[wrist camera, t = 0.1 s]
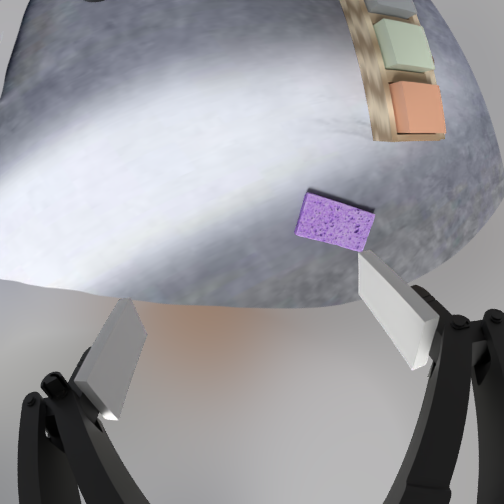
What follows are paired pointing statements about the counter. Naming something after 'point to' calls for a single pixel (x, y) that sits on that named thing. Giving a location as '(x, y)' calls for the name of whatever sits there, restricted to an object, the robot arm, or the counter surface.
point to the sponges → (334, 222)
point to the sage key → (403, 46)
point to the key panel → (381, 73)
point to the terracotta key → (417, 107)
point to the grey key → (392, 8)
